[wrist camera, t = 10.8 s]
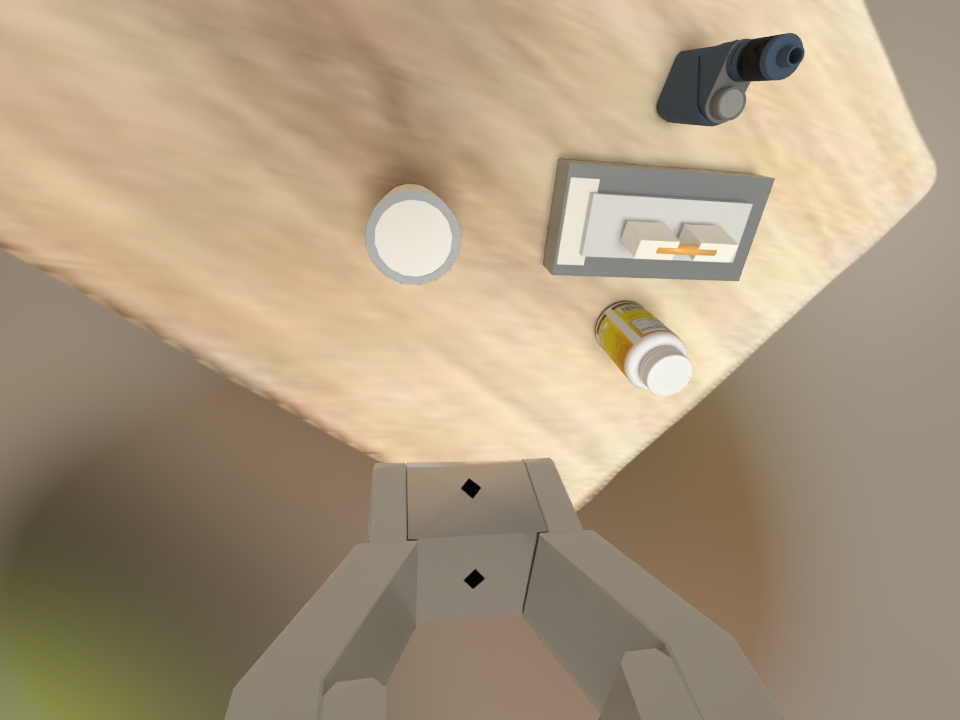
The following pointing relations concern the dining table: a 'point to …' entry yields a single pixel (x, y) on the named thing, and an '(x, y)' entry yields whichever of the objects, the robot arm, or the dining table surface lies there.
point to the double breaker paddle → (678, 242)
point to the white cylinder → (412, 235)
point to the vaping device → (725, 77)
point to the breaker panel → (647, 217)
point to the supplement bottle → (644, 349)
